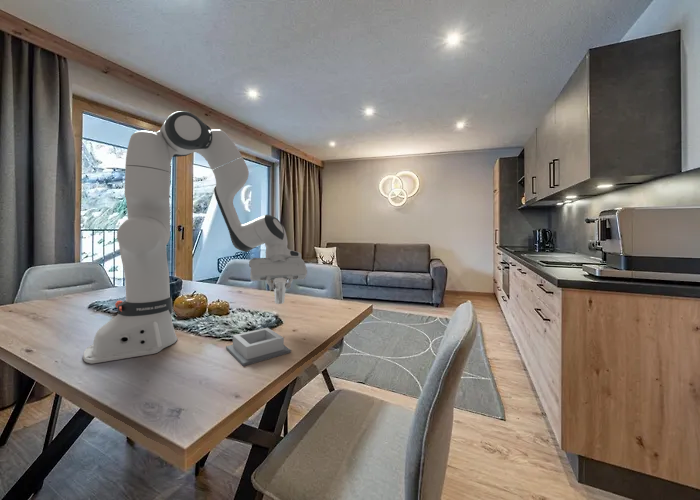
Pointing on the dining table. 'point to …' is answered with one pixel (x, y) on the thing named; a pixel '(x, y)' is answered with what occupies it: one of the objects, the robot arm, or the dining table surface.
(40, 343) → the dining table surface
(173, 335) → the robot arm
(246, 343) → the sleeve housing
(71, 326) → the dining table surface
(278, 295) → the milkshake
